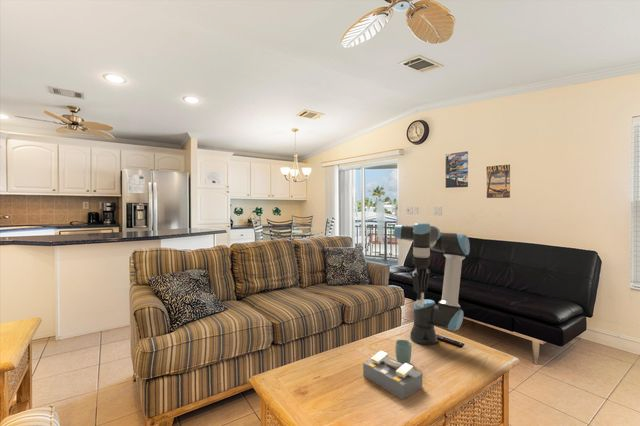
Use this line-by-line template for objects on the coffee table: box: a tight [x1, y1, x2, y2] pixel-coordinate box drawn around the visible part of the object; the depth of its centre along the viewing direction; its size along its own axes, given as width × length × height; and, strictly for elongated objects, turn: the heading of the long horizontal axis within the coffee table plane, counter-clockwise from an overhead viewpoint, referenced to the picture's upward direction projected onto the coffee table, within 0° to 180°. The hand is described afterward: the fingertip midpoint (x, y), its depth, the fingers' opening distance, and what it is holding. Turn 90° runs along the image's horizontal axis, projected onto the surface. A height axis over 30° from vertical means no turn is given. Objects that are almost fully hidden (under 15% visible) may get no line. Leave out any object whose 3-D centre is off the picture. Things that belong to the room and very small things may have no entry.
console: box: [362, 356, 423, 400], centre depth 138 cm, size 14×22×7 cm, turn 39°
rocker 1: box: [370, 350, 389, 364], centre depth 143 cm, size 7×4×2 cm, turn 128°
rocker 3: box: [396, 363, 415, 378], centre depth 133 cm, size 7×4×2 cm, turn 128°
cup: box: [395, 339, 413, 364], centre depth 155 cm, size 8×8×10 cm
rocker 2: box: [385, 358, 401, 367], centre depth 139 cm, size 7×4×2 cm, turn 129°
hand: (420, 306), depth 144 cm, fingers closed
